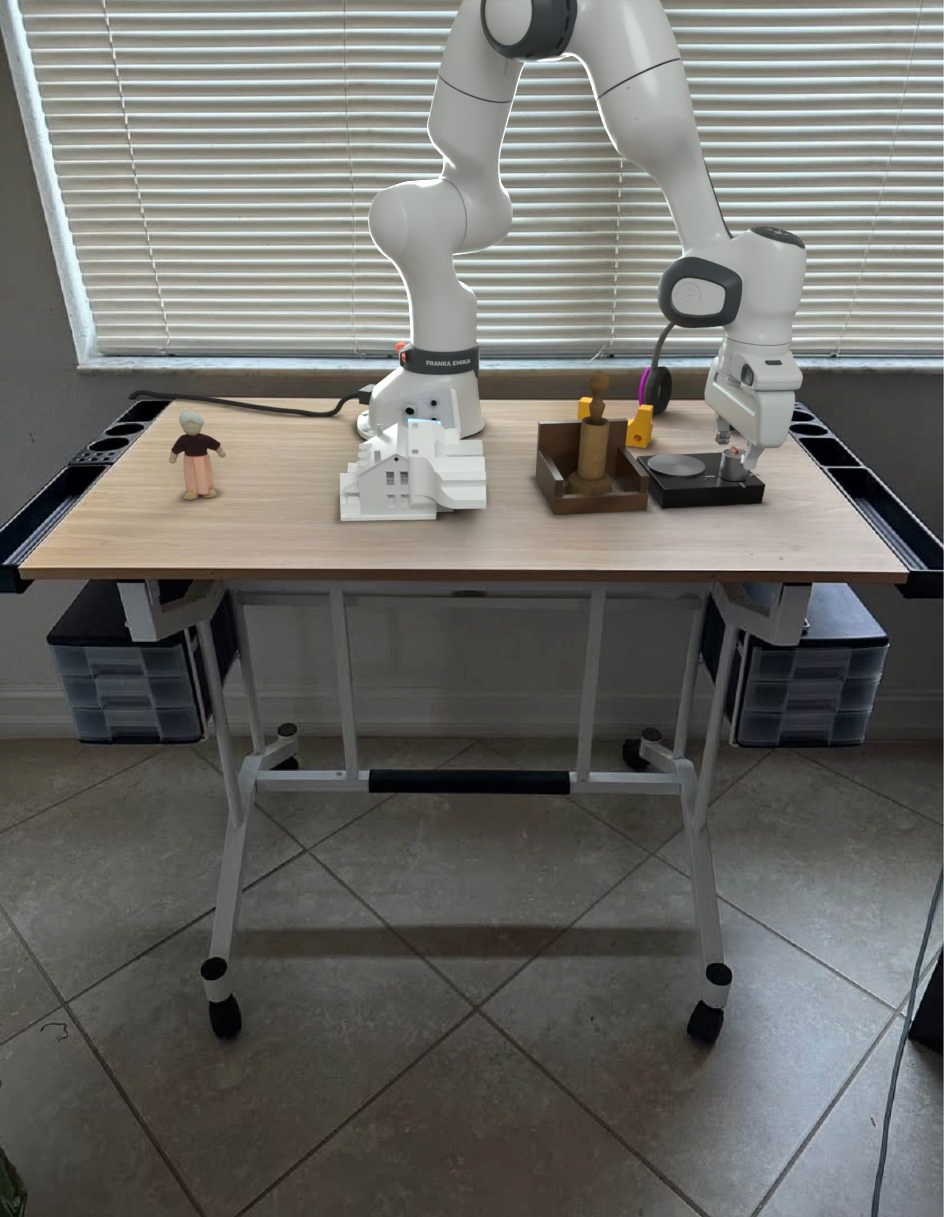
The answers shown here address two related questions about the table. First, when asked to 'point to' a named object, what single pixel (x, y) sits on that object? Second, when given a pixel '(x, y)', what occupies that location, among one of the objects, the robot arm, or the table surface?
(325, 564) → the table surface
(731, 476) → the hob knob
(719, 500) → the hob
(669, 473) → the burner
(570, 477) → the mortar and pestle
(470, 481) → the house model
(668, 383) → the headphones
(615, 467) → the spice rack
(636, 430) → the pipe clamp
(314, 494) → the table surface
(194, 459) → the grandmother figurine
